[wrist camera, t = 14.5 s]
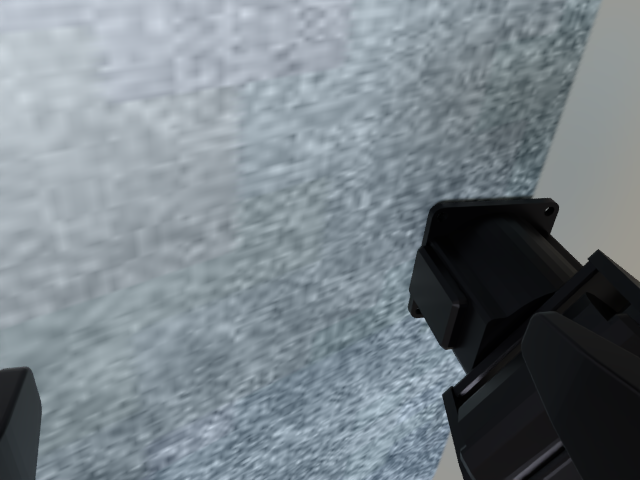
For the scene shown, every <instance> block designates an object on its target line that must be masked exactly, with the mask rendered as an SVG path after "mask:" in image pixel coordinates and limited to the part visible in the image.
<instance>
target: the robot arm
mask: <svg viewBox="0 0 640 480" xmlns="http://www.w3.org/2000/svg"><path fill="white" fill-rule="evenodd" d="M548 207H549V208H548ZM547 208H548V210H547V211H545V210H546V209H547ZM558 211H559V205H558V204H557V203H556V202H554V201H553V200H552V199H551V198H540V199H539V198H538V199H517V200H497V201H476V202H455V203H440V204H436V205H435V206H433V207H432V208H431V209H430V211H429V214H428V218H427V223H426V227H425V232H424V236H423V241H422V246H421V247H420V248H419V249H418V251H417V255H416V260H415V264H414V269H413V274H412V278H411V283H410V287H409V292H410V294H411V295H410V300H409V304H408V310H409V312H410V314H411V315H412V317H414V318H425V320H426V322H427V323H428V325H429V327H430V329H431V330H432V332H433V334H434V336H435V337H436V339H437V341H438V343H439V344H440V346H441V347H442V348H443V349H445V350H448V349H452V351H453V352H454V354H455V356H456V357H457V359H458V361H459V362H460V364H461V366H462V368H463V369H464V371H465V373H466V374H467V375H466V376H465V377H464V378H463V379H462V380H461V381H460V382H458V383H457V384H456V385H455V386H454V387H453V386H451V387H450V388H449V389H448V390H447V391H445V392H444V393H443V394H442V397H443V401H444V405H445V409H446V413H447V417H448V422H449V426H450V430H451V434H452V437H453V442H454V446H455V450H456V454H457V459H458V463H459V467H460V469H461V472H462V475H463V479H464V480H640V282H639V281H638V280H637V279H635V278H634V277H633V276H632V275H630V274H629V273H628V272H626V271H625V270H624V269H623V268H621V267H620V266H619V265H618V264H616V263H615V262H614V261H613V260H611V259H610V258H609V257H607V256H606V255H605V254H604V253H602V252H601V251H600V250H599V249H598V250H597V251H596V252H595V253H593V254H592V255H591V256H590V257H589V258H588V260H589V262H587V263H586V265H584V266H582V265H581V264H580V263H579V262H578V261H577V260H576V259H575V258H574V257H573V256H572V255H571V254H570V253H569V252H568V251H567V250H566V249H565V248H564V247H563V246H562V245H561V244H560V243H559V242H558V241H557V240H556V239H554V238H553V237H552V236H551V235H550V233H551V230H552V227H553V225H554V222H555V219H556V216H557V214H558ZM443 212H444V214H443V215H442V216H441V217H438V215H439V214H440V213H443ZM437 217H438V218H437ZM417 308H419V309H417ZM41 416H42V407H41V400H40V396H39V393H38V390H37V386H36V383H35V379H34V376H33V373H32V371H31V369H30V368H29V367H15V368H6V369H2V370H0V480H35V476H36V466H37V456H38V446H39V436H40V426H41Z"/></svg>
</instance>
